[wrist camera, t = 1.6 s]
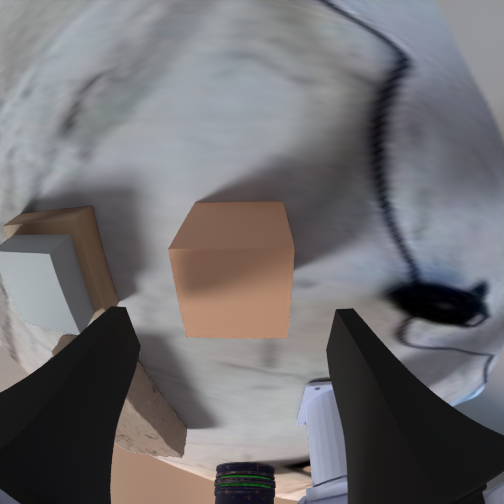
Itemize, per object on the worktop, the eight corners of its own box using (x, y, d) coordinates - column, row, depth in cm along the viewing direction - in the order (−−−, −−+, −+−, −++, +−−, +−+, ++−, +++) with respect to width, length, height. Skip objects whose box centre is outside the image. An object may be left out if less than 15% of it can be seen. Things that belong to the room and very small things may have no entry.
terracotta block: (282, 201, 14) (294, 248, 10) (279, 275, 16) (287, 338, 12) (195, 202, 14) (168, 248, 10) (202, 275, 16) (186, 336, 12)
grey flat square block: (70, 234, 13) (49, 254, 11) (95, 312, 16) (81, 335, 14) (13, 234, 13) (-8, 251, 11) (38, 303, 16) (23, 322, 14)
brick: (57, 333, 20) (35, 370, 16) (127, 335, 20) (107, 382, 16) (131, 421, 28) (123, 451, 24) (191, 427, 28) (186, 461, 24)
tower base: (96, 202, 15) (75, 219, 12) (121, 297, 18) (108, 320, 16) (24, 211, 15) (3, 226, 13) (52, 291, 18) (36, 310, 16)
